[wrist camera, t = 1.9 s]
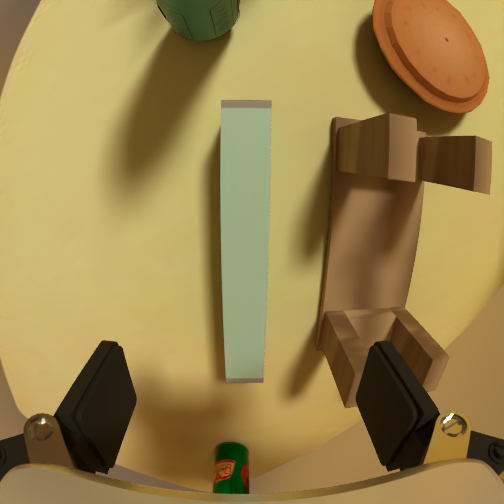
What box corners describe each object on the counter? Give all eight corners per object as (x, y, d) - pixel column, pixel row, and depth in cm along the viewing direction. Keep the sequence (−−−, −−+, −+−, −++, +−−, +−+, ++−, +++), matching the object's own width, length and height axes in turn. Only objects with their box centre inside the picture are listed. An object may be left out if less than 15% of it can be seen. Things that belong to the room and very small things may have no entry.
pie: (405, 135, 25) (432, 133, 20) (331, 7, 21) (346, -15, 16) (486, 98, 23) (512, 95, 18) (427, -8, 19) (447, -23, 14)
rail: (265, 113, 24) (271, 100, 18) (260, 346, 31) (263, 382, 26) (226, 113, 24) (221, 100, 18) (228, 346, 31) (226, 382, 26)
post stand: (420, 133, 25) (493, 129, 14) (392, 338, 32) (433, 396, 21) (332, 118, 24) (385, 96, 14) (315, 345, 32) (339, 415, 21)
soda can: (230, 436, 37) (228, 504, 25) (255, 448, 38) (257, 512, 26) (209, 448, 38) (203, 511, 26) (233, 459, 39) (232, 519, 27)
